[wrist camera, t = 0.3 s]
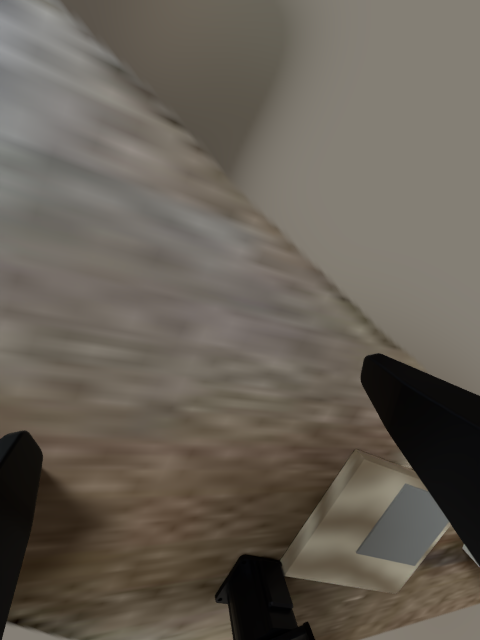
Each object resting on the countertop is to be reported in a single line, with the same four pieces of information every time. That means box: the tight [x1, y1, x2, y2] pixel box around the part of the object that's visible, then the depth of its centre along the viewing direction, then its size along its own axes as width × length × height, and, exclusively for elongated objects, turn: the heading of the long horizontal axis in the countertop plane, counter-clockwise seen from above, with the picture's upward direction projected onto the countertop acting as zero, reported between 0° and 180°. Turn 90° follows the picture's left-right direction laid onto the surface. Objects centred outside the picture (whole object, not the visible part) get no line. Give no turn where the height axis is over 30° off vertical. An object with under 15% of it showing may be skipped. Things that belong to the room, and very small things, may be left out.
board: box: [280, 449, 451, 594], centre depth 34 cm, size 16×18×2 cm
